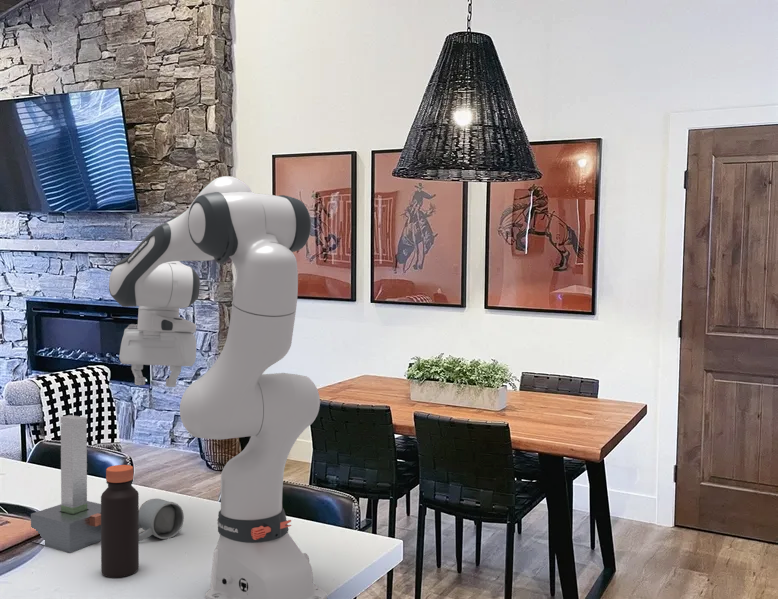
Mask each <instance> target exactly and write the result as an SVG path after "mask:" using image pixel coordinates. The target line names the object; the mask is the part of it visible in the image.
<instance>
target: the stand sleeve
mask: <svg viewBox="0 0 778 599" xmlns="http://www.w3.org/2000/svg"><path fill="white" fill-rule="evenodd" d="M31 527H32V528H34V529H36V531H38V533H39V534H40V536H41V537H42V538H44V540H45V546H44V547H47V548H51V549H54V550H58V551H61V552H65V553H68V554H71V553H73V552H76V551H79V550H81V549H85V548H86V547H89V546H92V545H94V544H96V543H99V542H100V543H101V503H98V502H94V501H89V500H87V511H84V512H81V513H78V514H75V515H69V514H65V513H61V503H60V504H57V505H54V506H51V507H48V508H46V509H42V510H39V511H35V512H32V513H30V528H31Z"/></svg>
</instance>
